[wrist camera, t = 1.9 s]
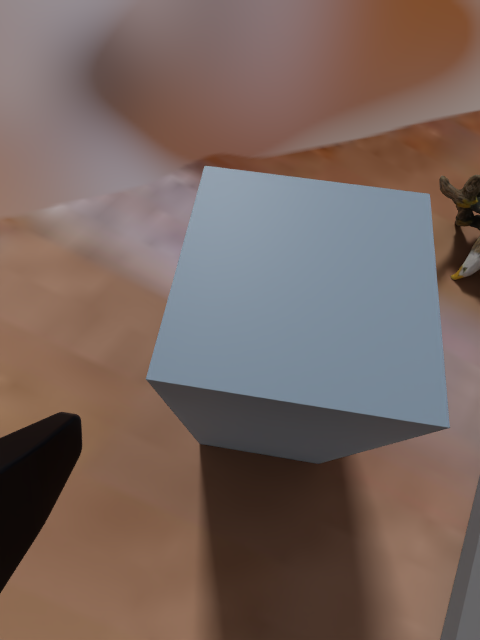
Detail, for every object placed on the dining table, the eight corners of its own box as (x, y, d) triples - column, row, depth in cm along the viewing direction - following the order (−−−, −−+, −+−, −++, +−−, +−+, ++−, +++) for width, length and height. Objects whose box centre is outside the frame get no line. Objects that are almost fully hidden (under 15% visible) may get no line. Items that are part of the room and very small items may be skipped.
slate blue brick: (318, 463, 18) (449, 427, 7) (199, 443, 18) (146, 379, 7) (325, 351, 20) (429, 194, 9) (220, 335, 21) (204, 165, 10)
